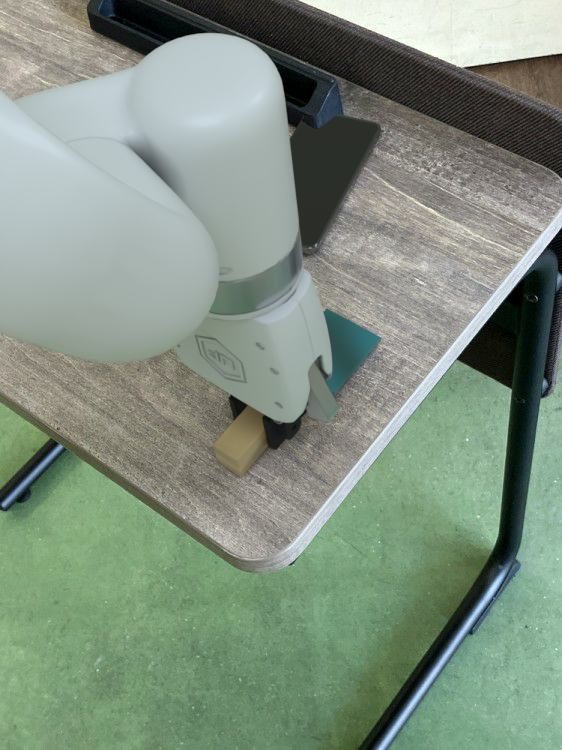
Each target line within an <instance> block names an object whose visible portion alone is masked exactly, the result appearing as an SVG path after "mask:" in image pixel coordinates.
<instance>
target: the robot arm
mask: <svg viewBox="0 0 562 750" xmlns="http://www.w3.org/2000/svg"><path fill="white" fill-rule="evenodd" d="M288 120H289V119H288V112H287V103H286V97H285V91H284V85H283V79H282V77H281V75H280V72H279V71H278V68H277V66H276V64H275V63H274V62H273V61H272V59H271V58H270V56H269V55H268V54H267V53H266V52H265V51H263V50H262V49H261V48H260V47H259V46H258V45H256V44H255V43H253V42H251V41H249V40H247V39H246V38H245V39H244V38H242V37H239V36H236V35H231V34H225V33H217V32H204V33H203V32H202V33H195V34H189V35H184V36H182V37H177V38H175V39H173V40H169V41H167V42H165V43H163V44H162V45H160V46H158V47H156V48H154V49H153V50H152V51H151V52H150V53H148V54H147V55H145V56H144V57H143V58H142V59H141V60H140V61H139V62H137V64H136V65H134V66H131V67H128V68H125V69H121V70H118V71H115V72H111V73H108V74H104V75H99V76H96V77H92V78H89V79H84V80H81V81H77V82H72V83H69V84H64V85H60V86H56V87H52V88H47V89H44V90H41V91H37V92H33V93H30V94H27V95H24V96H21V97H19V98H15V99H11V98H10V97H9V96H8V94H6V93H5V92H4V91H3V90H2V89H0V334H1V335H3V336H5V337H8V338H11V339H15V340H18V341H21V342H24V343H27V344H30V345H33V346H37V347H40V348H43V349H45V350H49V351H52V352H55V353H59V354H62V355H65V356H69V357H71V358H75V359H81V360H85V361H90V362H98V363H109V364H123V363H133V362H138V361H139V362H140V361H143V360H148V359H151V358H155V357H156V356H159V355H163V354H164V353H166V352H168V351H170V350H172V349H174V351H175V354H176V356H177V358H178V359H179V361H181V362H182V363H183V364H184V366H186V367H187V368H188V369H190V370H192V371H193V372H194V373H195V374H197V375H199V376H200V377H202V378H204V379H205V380H207V381H208V382H210V383H211V384H213V385H215V386H216V387H218V388H220V389H221V390H222V391H223V392H224V393H226V394H229V396H228V402H229V406H230V410H231V413H232V418H233V421H234V420H235V419H236V418H237V417H238V416H239V415H240V414H241V413H242V412H243V411H244V409H245V408H246V407H247V406H248V405H249V406H251V407H252V408H254V409H256V410H257V411H259V412H261V413H263V414H264V415H263V417H262V421H263V426H264V429H265V433H266V437H267V442H268V447H269V448H270V449H272V450H274V451H276V450H278V449H279V447H280V446H281V445H282V444H283V443H284V442H285V441H286V440H288V441H291V440H292V439H293V438H294V437H295V436H296V435H297V433H298V432H299V431H300V429H301V427H302V418H304V417H305V416H308V418H310V419H314V420H316V421H319V422H322V423H326V424H329V423H330V422H331V421H332V420H333V418H334V417H335V416H336V415H337V413H338V412H339V411H340V410H341V406H340V405H339V402H338V401H337V399H336V397H335V396H334V395H333V393H332V391H331V389H330V388H329V386H328V384H327V382H326V380H330V379H331V376H332V353H331V345H330V339H329V334H328V328H327V324H326V320H325V316H324V309H323V305H322V302H321V299H320V296H319V293H318V290H317V287H316V285H315V283H314V280H313V277H312V275H311V272H309V270H308V269H307V268H305V266H304V253H302V245H301V236H300V227H299V218H298V209H297V200H296V191H295V182H294V174H293V165H292V156H291V147H290V131H289V121H288Z"/></svg>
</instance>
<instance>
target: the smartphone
mask: <svg viewBox="0 0 562 750" xmlns="http://www.w3.org/2000/svg"><path fill="white" fill-rule="evenodd" d="M332 113H333V114H336V113H335V112H332ZM337 114H338V115H336V116H335V117H333V118H332V119H331V120H330V121H328V122H327V123H326V124H324V125H323V126H321V127H320V128H318V129H314V128H312V127H311V126H309V125H307V124H306V123H305V122H303V121H302V119H303V118H304V115H303V116H302V117H301V119H300V120H299V122H298V124H297V126H296V127H295V129H294V131H293V132H292V134H291V136H289V138H290V147H291V156H292V165H293V174H294V182H295V191H296V200H297V209H298V218H299V227H300V236H301V245H302V254H307V255H312V254H315V253H316V252H317V251H318V250H319V247H321V244H322V243H323V240H324V239H325V237H326V235H327V233H328V231H329V229H330V227H331V226H332V224H333V223H334V220H335V219H336V216H337V214H338V213H339V211H340V209H341V207H342V205H343V204H344V202H345V200H346V198H347V196H348V194H349V193H350V190H351V188H352V187H353V185H354V183H355V182H356V180H357V177H358V176H359V174H360V172H361V170H362V168H363V166H364V164H365V163H366V161H367V159H368V157H369V156H370V153H371V151H372V149H373V147H374V146H375V144H376V142H377V140H378V138H379V137H380V135H381V132H382V126H381V124H380V123H379V122H377V121H372V120H368V119H363V118H360V117H359V118H358V117H354V116H349V115H345V114H339V113H337Z"/></svg>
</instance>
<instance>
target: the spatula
mask: <svg viewBox="0 0 562 750" xmlns="http://www.w3.org/2000/svg"><path fill="white" fill-rule="evenodd" d="M323 312H324V316H325V320H326V324H327V328H328V334H329V339H330V345H331V353H332V376H331V379H330V380H326V382H327V384H328V386H329V388H330V389H331V391H332V393H333V395H334V397H335V396H337V394H338V393H339V392H340V390H341V389H342V388H343V387H344V385H345V384H347V382H348V381H349V380H350V378H351V377H352V376H353V375H354V374H355V372H356V371H357V370H358V369H359V368H360V367H361V365H362V364H363V363H364V362H365V361H366V359H367V358H368V357H369V356H370V355H371V354H372V352H373V351H374V350H375V349H376V348H377V346H378V345H380V343H381V342H382V338H381V336H380V335H377V334H376V333H374V332H372V331H371V330H368V329H366V328H364V327H362V326H361V325H360V324H357V323H356V322H353V321H351V320H350V319H348V318H346V317H345V316H342V315H340V314H338V313H337V312H335V311H332V310H331V309H329V308H326V309H325V310H323ZM263 415H264V414H263V413H261V412H259V411H257V410H256V409H254V408H252V407H251V406H249V405H248V406H247V407H246V408H245V409H244V411H243V412H242V413H241V414H240V415H239V416H238V417H237V418H236V419H235V420H234V419H233V421H232V423H230V425H228V427H227V428H226V429H225V430H224V432H222V434H220V436H219V437H218V438H217V439H216V440H215V442H214V443H213V444H212V448H213V451H214V455H215V458H216V461H217V462H218V464H220V465H222V466H223V467H225V468H226V469H228V470H229V471H231V472H233V473H234V474H235V475H237V476H239V477H240V478H243V476H244V475H245V474H246V473H247V471H249V470H250V468H251V467H252V466H253V465H254V464H255V462H256V461H257V460H258V459H259V458H260V457H261V455H263V453H264V452H265V451H266V449H267V448H268V447H269V446H268V442H267V437H266V433H265V429H264V426H263V421H262V417H263Z"/></svg>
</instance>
